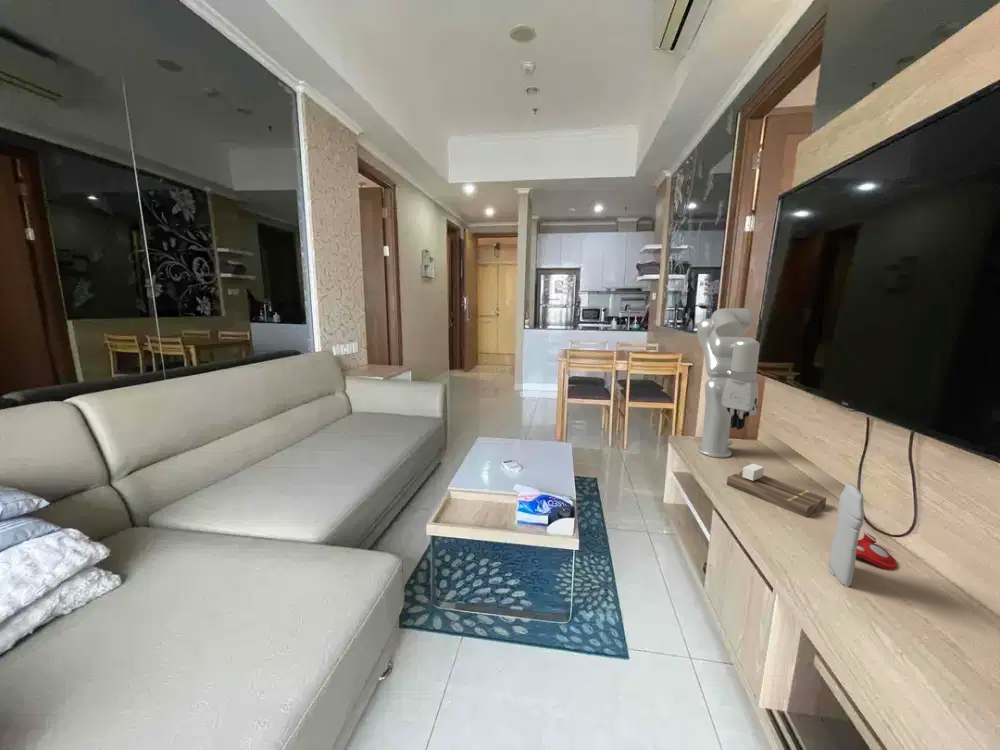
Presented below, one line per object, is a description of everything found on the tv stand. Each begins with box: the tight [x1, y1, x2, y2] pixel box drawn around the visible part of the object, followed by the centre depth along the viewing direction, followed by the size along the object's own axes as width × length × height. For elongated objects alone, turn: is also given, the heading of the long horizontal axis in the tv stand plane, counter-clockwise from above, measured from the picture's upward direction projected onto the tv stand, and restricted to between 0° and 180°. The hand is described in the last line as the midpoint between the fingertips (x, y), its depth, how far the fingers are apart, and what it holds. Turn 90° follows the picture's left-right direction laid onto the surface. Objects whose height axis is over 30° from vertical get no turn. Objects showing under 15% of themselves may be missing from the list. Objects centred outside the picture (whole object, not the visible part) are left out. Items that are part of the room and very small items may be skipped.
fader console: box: [726, 470, 827, 518], centre depth 132 cm, size 12×24×3 cm, turn 30°
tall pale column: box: [828, 482, 865, 587], centre depth 93 cm, size 11×4×22 cm, turn 157°
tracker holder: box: [856, 531, 897, 571], centre depth 102 cm, size 12×4×10 cm
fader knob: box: [742, 463, 765, 481], centre depth 137 cm, size 6×4×5 cm, turn 120°
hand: (736, 427), depth 140 cm, fingers closed
